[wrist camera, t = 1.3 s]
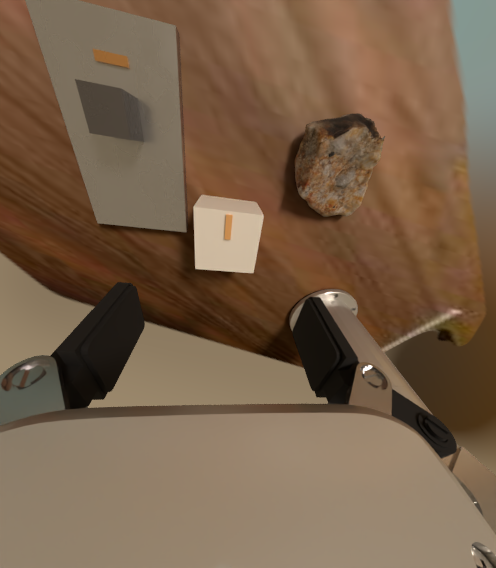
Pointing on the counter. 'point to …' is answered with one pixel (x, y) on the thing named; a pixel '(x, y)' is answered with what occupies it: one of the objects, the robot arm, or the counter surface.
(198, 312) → the counter surface
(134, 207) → the plate
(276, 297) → the counter surface
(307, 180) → the rock
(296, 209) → the counter surface
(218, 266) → the orange-striped white cube
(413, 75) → the counter surface
